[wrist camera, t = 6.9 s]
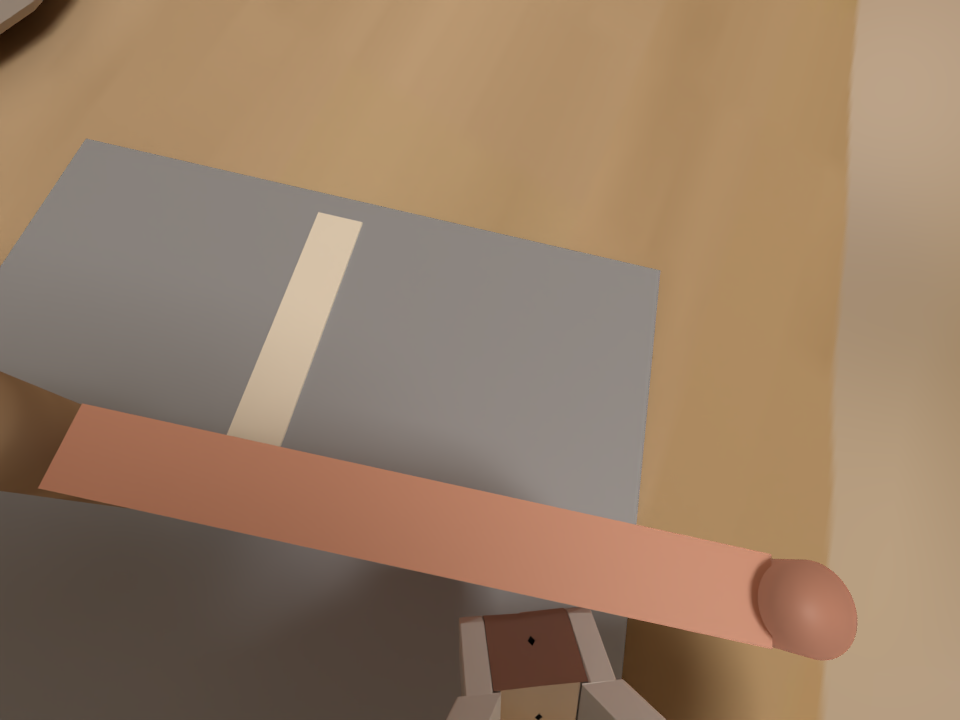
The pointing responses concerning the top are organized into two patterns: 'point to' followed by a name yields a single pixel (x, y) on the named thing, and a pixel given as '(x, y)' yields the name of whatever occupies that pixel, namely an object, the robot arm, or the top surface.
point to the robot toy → (15, 11)
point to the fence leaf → (454, 532)
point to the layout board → (295, 433)
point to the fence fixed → (32, 436)
